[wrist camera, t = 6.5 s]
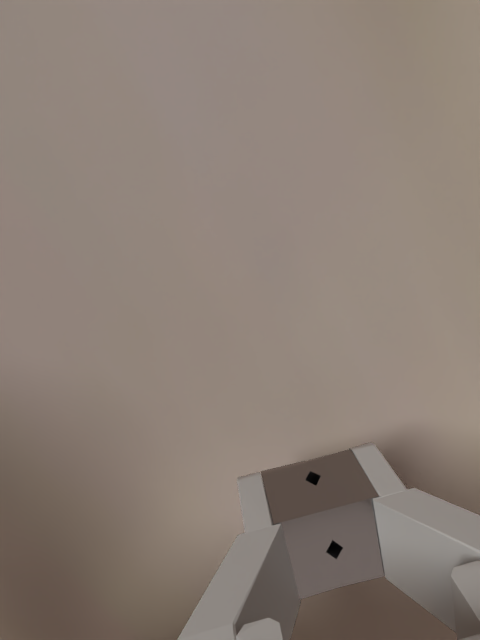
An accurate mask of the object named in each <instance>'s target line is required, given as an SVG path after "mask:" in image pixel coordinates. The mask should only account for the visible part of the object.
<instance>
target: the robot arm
mask: <svg viewBox="0 0 480 640" xmlns="http://www.w3.org/2000/svg"><path fill="white" fill-rule="evenodd" d="M261 475H262V477H261ZM262 479H263V481H262ZM263 484H264V485H263ZM237 485H238V492H239V498H240V505H241V511H242V518H243V525H244V531H245V533H243V534H239V535H238V536H237V537H236V539H235V541H234V542H233V544H232V546H231V548H230V549H229V551H228V553H227V555H226V556H225V558H224V560H223V561H222V563H221V565H220V567H219V568H218V570H217V572H216V573H215V575H214V577H213V579H212V580H211V582H210V584H209V586H208V587H207V589H206V591H205V592H204V594H203V596H202V598H201V599H200V601H199V603H198V605H197V606H196V608H195V610H194V611H193V613H192V615H191V617H190V618H189V620H188V622H187V623H186V625H185V627H184V629H183V630H182V632H181V634H180V636H179V637H178V639H177V640H290V639H291V635H292V632H293V628H294V625H295V621H296V617H297V614H298V610H299V607H300V603H301V601H300V599H303V598H306V597H309V596H313V595H316V594H319V593H322V592H326V591H329V590H332V589H335V588H339V587H342V586H346V585H351V584H355V583H359V582H363V581H367V580H371V579H375V578H380V577H384V576H385V578H386V579H387V580H388V581H390V582H391V583H392V584H393V585H395V586H396V587H397V588H399V589H400V590H401V591H402V592H404V593H405V594H406V595H408V596H409V597H410V598H412V599H413V600H414V601H415V602H417V603H418V604H419V605H421V606H422V607H423V608H425V609H426V610H427V611H428V612H430V613H431V614H432V615H434V616H435V617H436V618H438V619H439V620H440V621H441V622H443V623H444V624H445V625H447V626H448V627H449V628H450V629H452V630H453V631H454V632H456V633H457V640H480V515H478V514H476V513H473V512H471V511H469V510H466V509H464V508H462V507H459V506H457V505H454V504H452V503H450V502H447V501H445V500H443V499H440V498H438V497H435V496H433V495H431V494H428V493H426V492H423V491H421V490H419V489H416V488H412V489H407V488H406V487H405V485H404V484H403V482H402V481H401V480H400V478H399V477H398V475H397V474H396V473H395V471H394V470H393V469H392V467H391V466H390V464H389V463H388V462H387V460H386V459H385V457H384V456H383V455H382V453H381V452H380V450H379V449H378V448H377V446H376V445H375V444H374V443H372V442H370V443H366V444H363V445H359V446H356V447H353V448H349V450H345V451H341V452H338V453H334V454H330V455H326V456H323V457H319V458H315V459H312V460H308V461H302V462H298V463H294V464H290V465H285V466H281V467H277V468H273V469H269V470H264V471H261V473H260V472H257V473H253V474H249V475H245V476H241V477H238V478H237Z"/></svg>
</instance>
